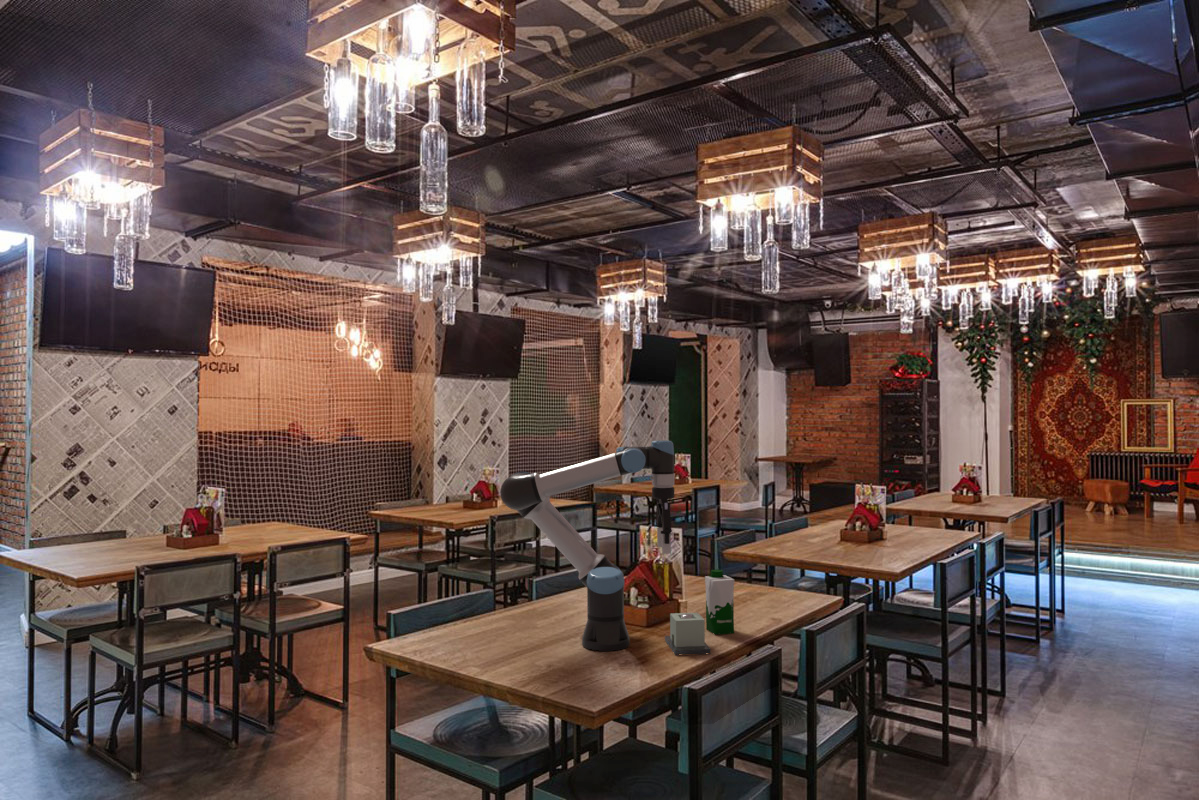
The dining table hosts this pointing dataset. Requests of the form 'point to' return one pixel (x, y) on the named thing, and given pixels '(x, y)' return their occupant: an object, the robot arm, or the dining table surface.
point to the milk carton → (719, 603)
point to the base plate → (688, 649)
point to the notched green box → (687, 630)
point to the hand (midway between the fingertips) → (663, 550)
